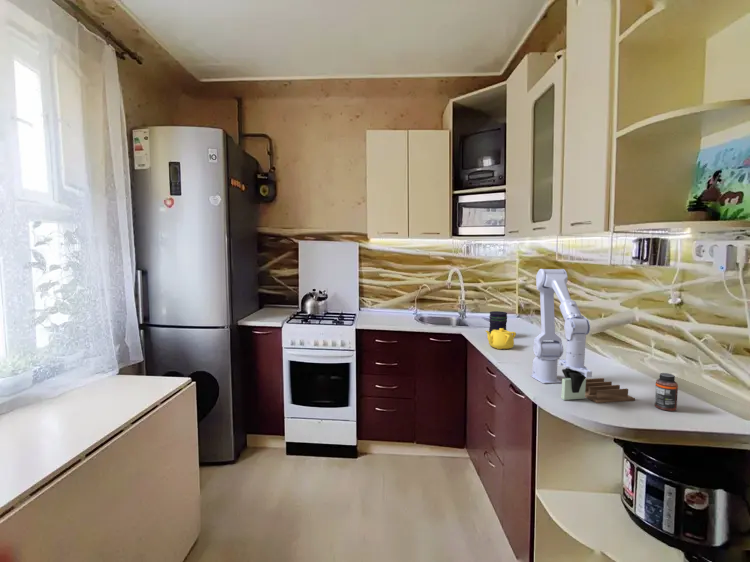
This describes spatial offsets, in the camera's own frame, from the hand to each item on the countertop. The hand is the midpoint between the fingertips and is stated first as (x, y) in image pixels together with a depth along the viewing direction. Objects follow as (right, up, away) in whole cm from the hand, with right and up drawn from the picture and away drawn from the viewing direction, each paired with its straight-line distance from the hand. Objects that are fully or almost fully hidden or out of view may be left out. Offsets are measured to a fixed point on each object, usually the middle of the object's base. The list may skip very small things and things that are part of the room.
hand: (573, 391), depth 141 cm
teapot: (-3, +3, +73) cm, 73 cm away
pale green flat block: (0, -3, 0) cm, 2 cm away
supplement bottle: (+27, -4, -7) cm, 28 cm away
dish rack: (+12, -3, +5) cm, 14 cm away
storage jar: (+3, +5, +96) cm, 96 cm away
